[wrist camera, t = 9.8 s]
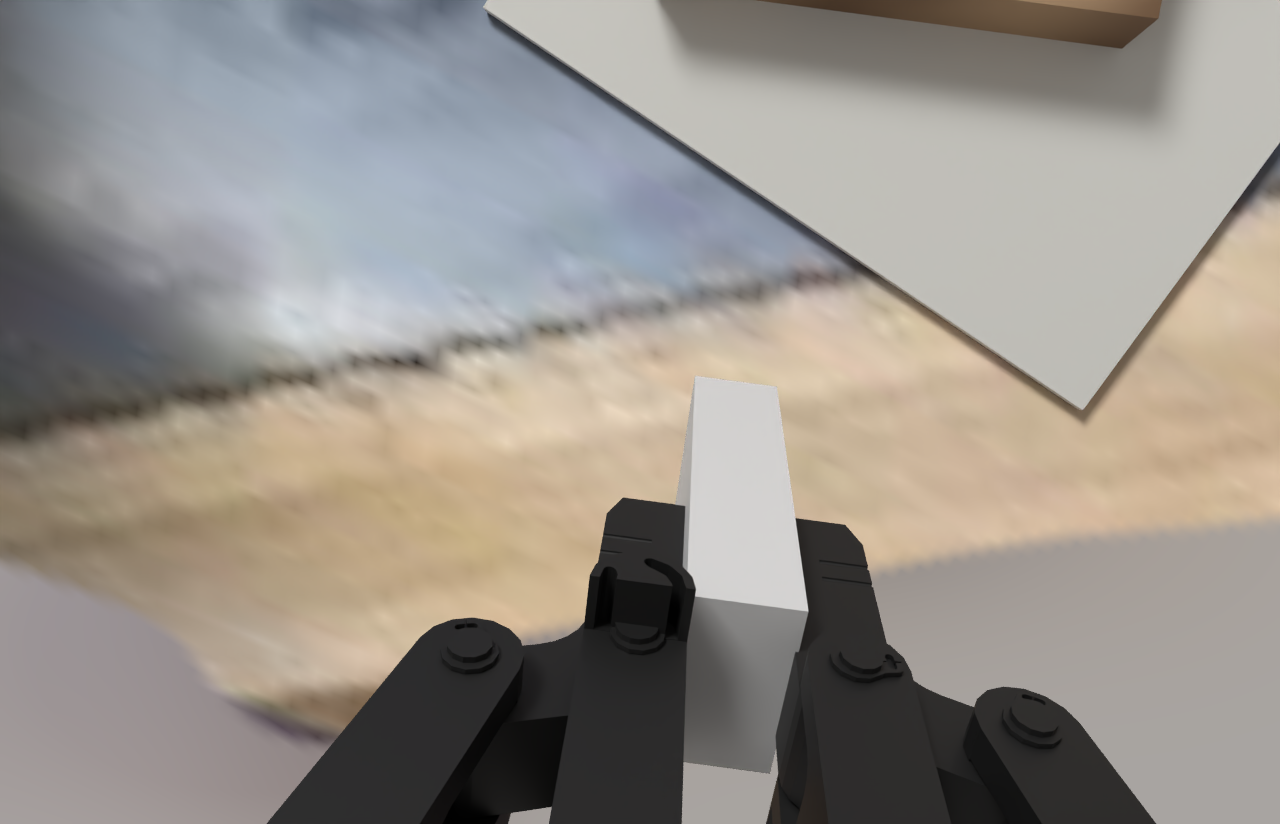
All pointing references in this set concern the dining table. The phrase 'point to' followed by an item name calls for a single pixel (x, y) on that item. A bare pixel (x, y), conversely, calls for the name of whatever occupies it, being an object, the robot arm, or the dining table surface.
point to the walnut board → (1016, 16)
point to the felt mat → (961, 148)
